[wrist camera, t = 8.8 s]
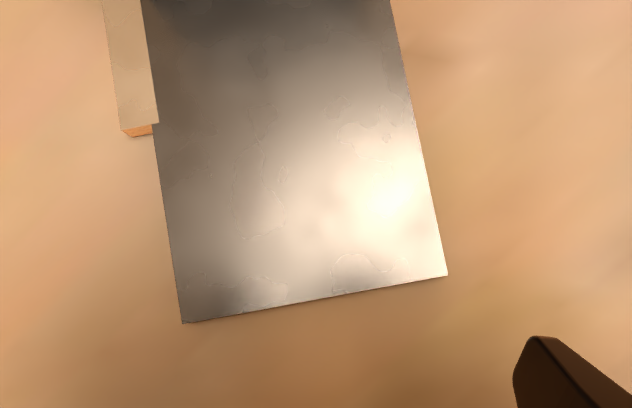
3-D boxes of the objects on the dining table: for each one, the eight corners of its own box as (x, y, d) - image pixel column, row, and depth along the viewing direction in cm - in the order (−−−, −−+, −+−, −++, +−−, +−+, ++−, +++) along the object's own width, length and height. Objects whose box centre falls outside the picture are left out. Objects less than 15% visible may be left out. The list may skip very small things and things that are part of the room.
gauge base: (443, 274, 19) (448, 275, 18) (160, 326, 20) (149, 330, 19) (325, -283, 22) (323, -312, 21) (78, -222, 22) (64, -246, 21)
